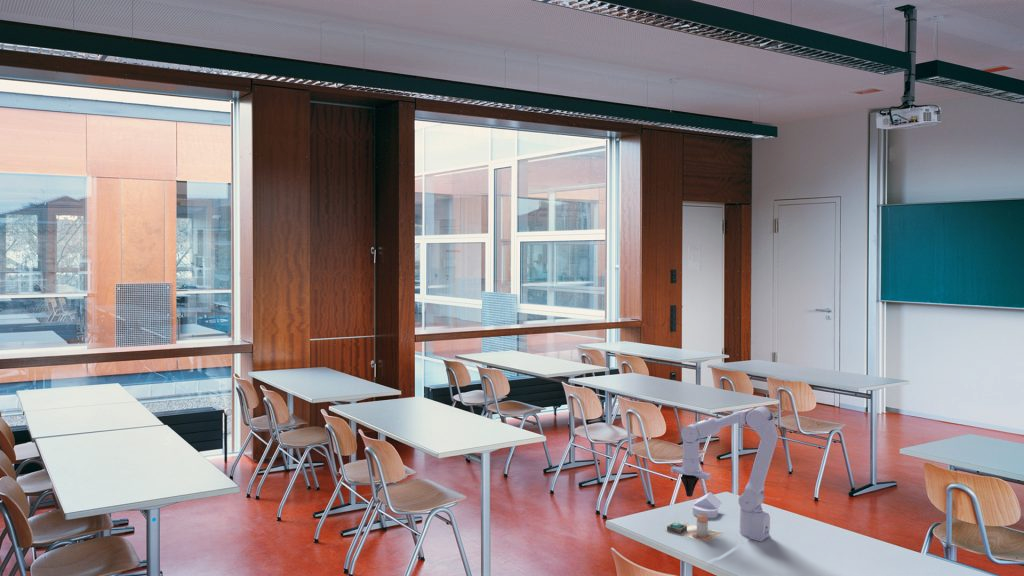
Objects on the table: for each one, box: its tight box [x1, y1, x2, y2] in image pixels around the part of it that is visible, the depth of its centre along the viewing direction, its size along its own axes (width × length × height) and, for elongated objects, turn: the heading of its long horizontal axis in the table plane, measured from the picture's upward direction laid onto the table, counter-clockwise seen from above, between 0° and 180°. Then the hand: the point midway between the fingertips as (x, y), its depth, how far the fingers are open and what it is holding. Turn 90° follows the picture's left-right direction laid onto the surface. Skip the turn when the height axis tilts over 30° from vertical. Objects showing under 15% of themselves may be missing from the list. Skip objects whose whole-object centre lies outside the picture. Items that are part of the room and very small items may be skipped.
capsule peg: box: [696, 514, 709, 538], centre depth 268 cm, size 4×4×7 cm
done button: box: [673, 522, 682, 529], centre depth 273 cm, size 3×3×2 cm
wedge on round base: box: [692, 491, 723, 519], centre depth 293 cm, size 9×7×13 cm
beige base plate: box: [665, 521, 724, 543], centre depth 273 cm, size 18×14×2 cm
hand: (689, 496), depth 284 cm, fingers closed
